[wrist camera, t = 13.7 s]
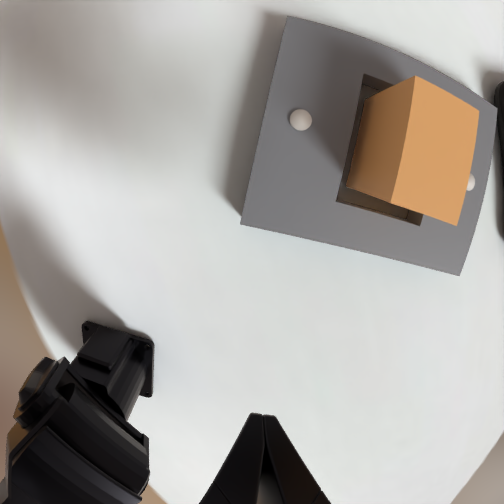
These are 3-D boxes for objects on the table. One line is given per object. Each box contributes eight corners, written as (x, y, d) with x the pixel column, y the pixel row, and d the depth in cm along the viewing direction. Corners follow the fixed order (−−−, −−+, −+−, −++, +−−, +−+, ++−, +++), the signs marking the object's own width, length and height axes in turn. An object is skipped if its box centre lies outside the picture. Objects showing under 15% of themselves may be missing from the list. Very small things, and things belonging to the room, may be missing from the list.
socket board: (445, 266, 20) (460, 277, 18) (241, 217, 19) (239, 225, 17) (481, 110, 16) (499, 108, 14) (285, 28, 15) (288, 14, 13)
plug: (398, 202, 18) (456, 226, 12) (345, 186, 18) (390, 203, 12) (416, 120, 17) (479, 110, 10) (364, 99, 16) (415, 75, 10)
